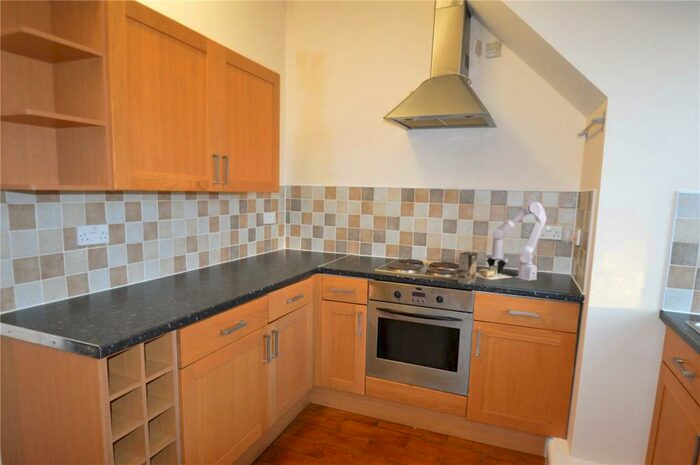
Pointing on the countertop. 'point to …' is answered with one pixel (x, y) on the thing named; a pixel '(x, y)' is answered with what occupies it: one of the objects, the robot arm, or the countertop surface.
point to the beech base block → (486, 273)
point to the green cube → (495, 269)
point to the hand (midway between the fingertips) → (495, 272)
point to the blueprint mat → (495, 276)
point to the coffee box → (467, 267)
